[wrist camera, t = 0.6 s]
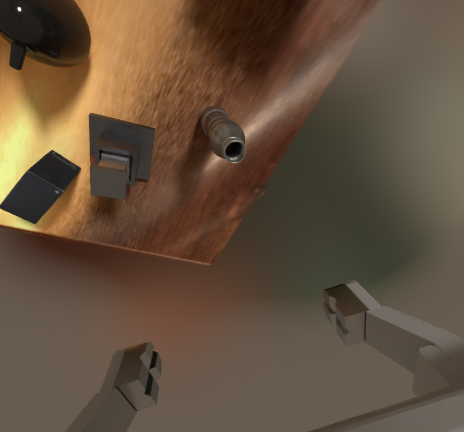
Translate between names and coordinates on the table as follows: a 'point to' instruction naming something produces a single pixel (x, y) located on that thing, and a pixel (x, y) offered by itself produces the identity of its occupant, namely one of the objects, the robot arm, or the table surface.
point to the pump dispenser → (45, 32)
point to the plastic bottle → (223, 134)
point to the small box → (40, 187)
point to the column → (110, 175)
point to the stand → (122, 143)
